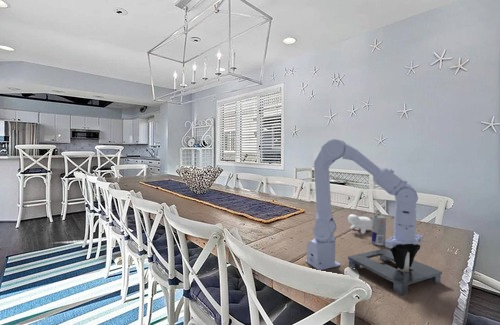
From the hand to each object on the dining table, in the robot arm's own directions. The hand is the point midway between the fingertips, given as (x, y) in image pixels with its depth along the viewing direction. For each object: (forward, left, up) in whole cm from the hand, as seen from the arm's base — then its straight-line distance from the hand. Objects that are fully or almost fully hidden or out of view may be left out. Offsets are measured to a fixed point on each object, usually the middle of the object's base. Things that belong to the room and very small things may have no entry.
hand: (403, 266), depth 81 cm
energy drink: (+19, +25, -4) cm, 32 cm away
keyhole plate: (0, +4, -4) cm, 6 cm away
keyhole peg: (0, 0, -3) cm, 3 cm away
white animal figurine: (+26, +41, -4) cm, 49 cm away
